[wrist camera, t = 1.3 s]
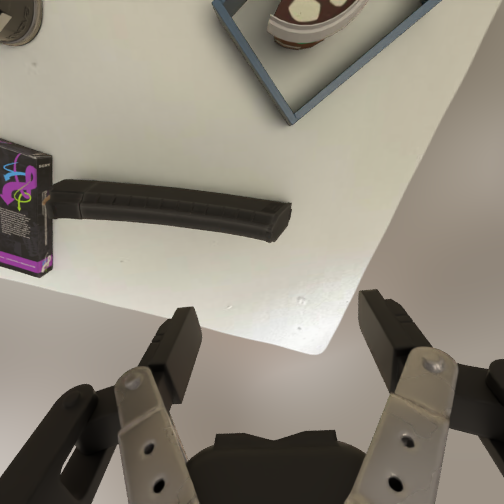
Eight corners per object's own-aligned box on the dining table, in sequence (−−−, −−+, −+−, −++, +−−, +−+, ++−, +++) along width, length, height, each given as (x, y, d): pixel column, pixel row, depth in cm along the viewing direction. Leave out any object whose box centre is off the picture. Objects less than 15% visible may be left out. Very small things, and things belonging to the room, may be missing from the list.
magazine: (319, 222, 28) (-18, 215, 21) (313, 249, 30) (-5, 251, 22) (273, 188, 43) (66, 176, 36) (270, 207, 45) (71, 199, 37)
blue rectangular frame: (218, 19, 29) (211, 2, 25) (369, -148, 23) (387, -200, 19) (289, 126, 33) (292, 125, 29) (432, 6, 27) (458, -14, 23)
